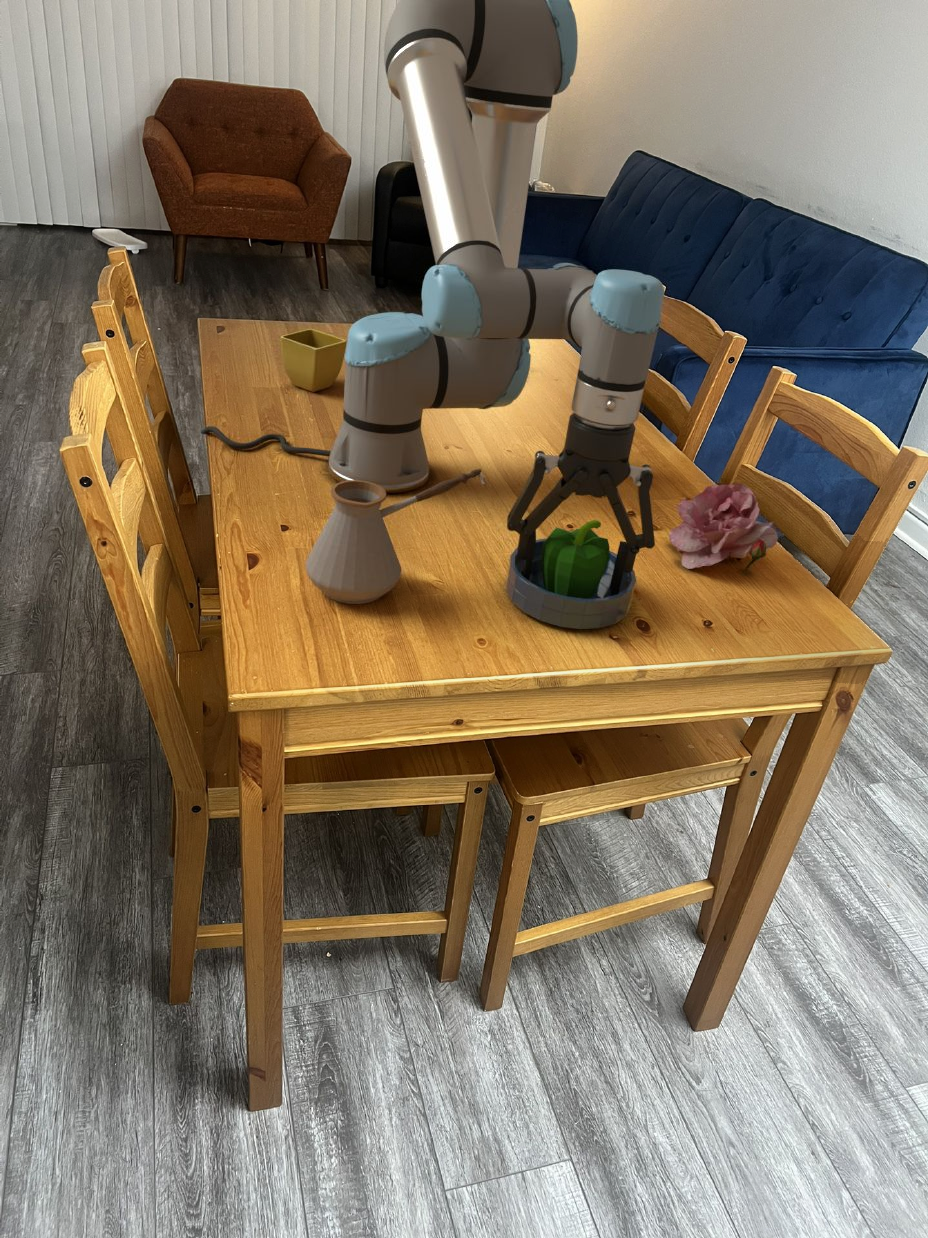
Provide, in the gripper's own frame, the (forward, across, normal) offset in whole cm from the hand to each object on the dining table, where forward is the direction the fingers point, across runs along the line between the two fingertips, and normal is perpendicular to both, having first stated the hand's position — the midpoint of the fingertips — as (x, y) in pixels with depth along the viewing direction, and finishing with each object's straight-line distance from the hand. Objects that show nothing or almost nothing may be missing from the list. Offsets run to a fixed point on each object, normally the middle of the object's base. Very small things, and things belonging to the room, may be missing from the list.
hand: (569, 586), depth 118 cm
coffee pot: (+2, -22, -2) cm, 22 cm away
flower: (+2, +22, +17) cm, 28 cm away
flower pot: (+2, -45, +66) cm, 80 cm away
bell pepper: (+1, 0, 0) cm, 1 cm away
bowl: (+2, 0, 0) cm, 2 cm away
